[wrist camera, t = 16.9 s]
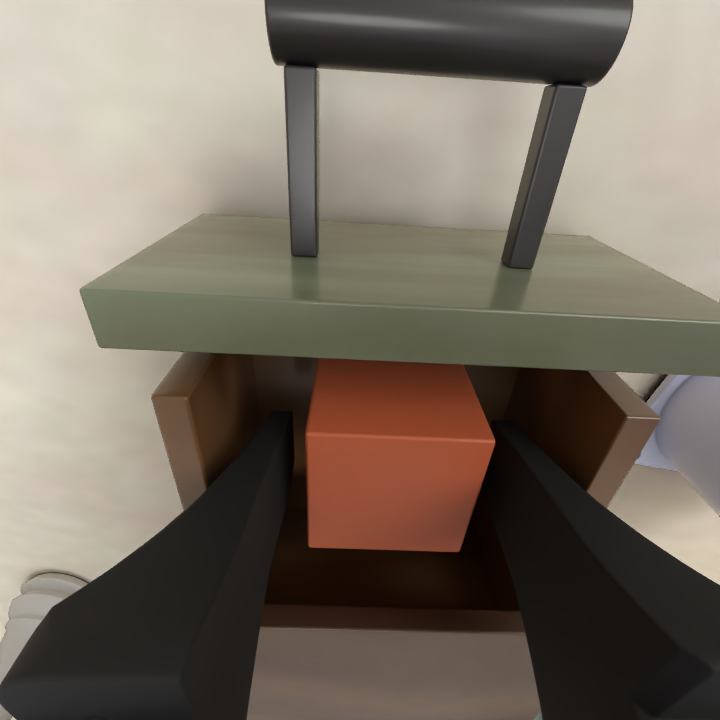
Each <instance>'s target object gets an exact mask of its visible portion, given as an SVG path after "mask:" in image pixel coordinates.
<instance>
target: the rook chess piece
mask: <svg viewBox="0 0 720 720" xmlns="http://www.w3.org/2000/svg"><path fill="white" fill-rule="evenodd" d="M87 584H88V583H87V582H85V581H82V580H80V579H78V578H76V577H73V576H69V575H65V574H58V573H47V574H40V575H38V576H36V577H34V578H33V579H31V580H29V581H27V582H26V583H24V584H22V588H21V593H22V595H20V596H19V597H17V598H15V599H13V601H12V603H11V606H10V608H9V612H8V615H9V621H8V622H7V623H6V625H5V629H6V632H5V634H4V637H3V639H2V641H1V643H0V684H1V682H2V681H3V679H4V677H5V676H6V674H7V673H8V671H9V670H10V668H11V666H12V665H13V663H14V662H15V660H16V659H17V657H18V655H19V654H20V652H21V651H22V649H23V647H24V646H25V644H26V643H27V641H28V640H29V638H30V637H31V635H32V634H33V632H34V631H35V629H36V628H37V626H38V625H39V624H40V623H41V621H42V620H43V619H44V617H45V616H46V615H47V613H48V612H49V610H50V609H51V608H52V607H53V606H54V605H56V604H58V603H59V602H61V601H62V600H64V599H66V598H67V597H69V596H70V595H72V594H73V593H75V592H76V591H78V590H79V589H81V588H82V587H84V586H86V585H87ZM11 718H12V715H11V714H10V713H8V712H7V711H6V710H5V709H4V708H3V707H2V705H1V704H0V720H11Z"/></svg>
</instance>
